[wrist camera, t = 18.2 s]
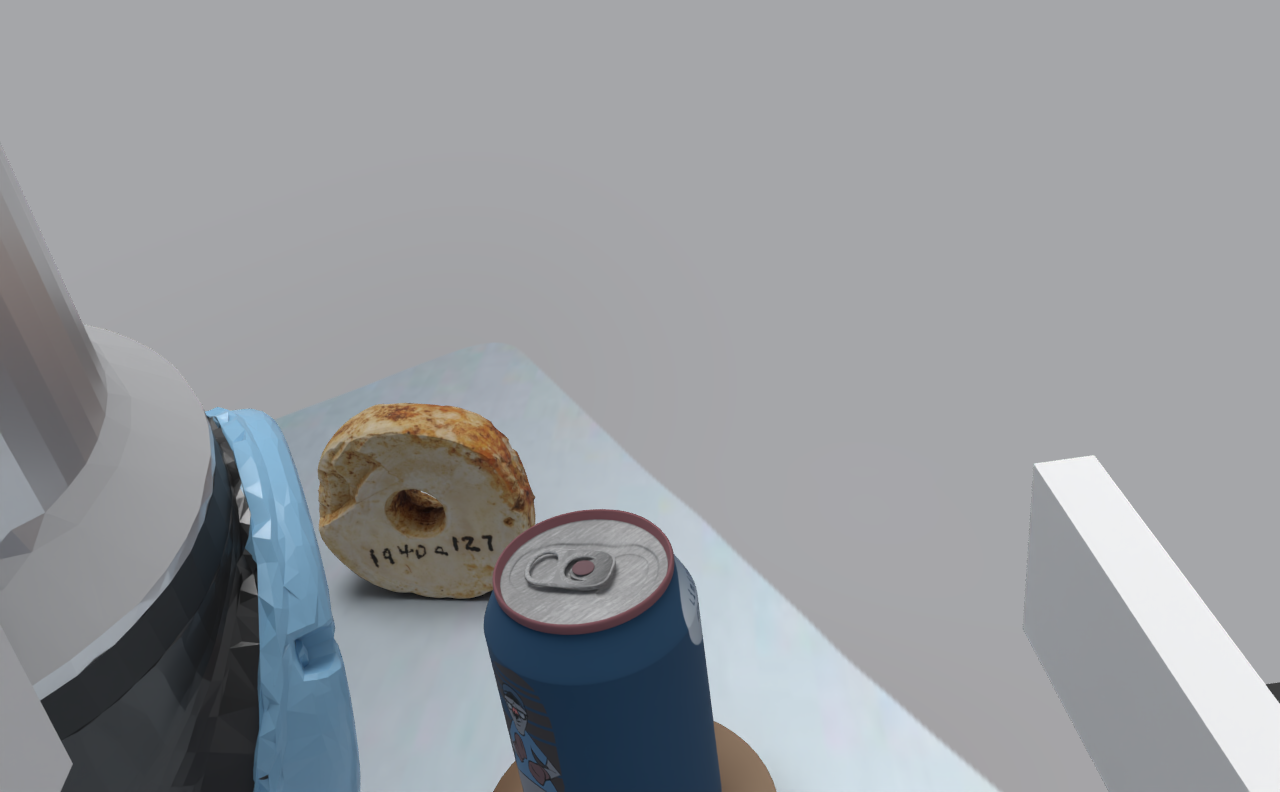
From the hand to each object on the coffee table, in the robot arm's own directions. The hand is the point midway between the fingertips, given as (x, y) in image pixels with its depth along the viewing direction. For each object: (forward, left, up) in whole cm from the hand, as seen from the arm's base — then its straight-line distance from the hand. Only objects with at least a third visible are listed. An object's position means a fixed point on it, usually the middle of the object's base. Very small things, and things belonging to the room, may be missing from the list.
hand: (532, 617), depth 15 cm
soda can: (-5, +17, -25) cm, 31 cm away
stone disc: (-17, +31, -26) cm, 44 cm away
